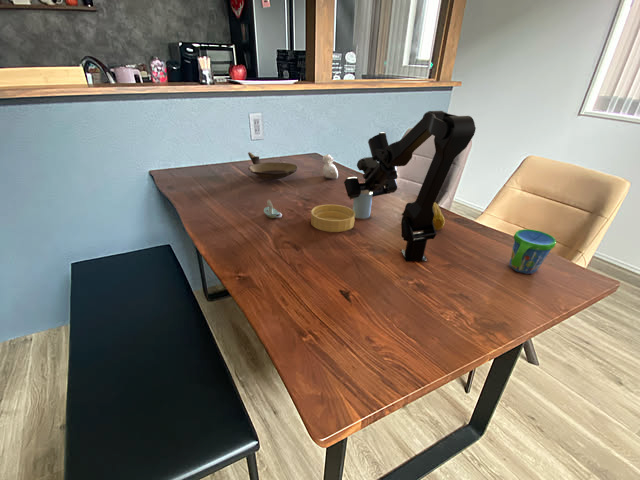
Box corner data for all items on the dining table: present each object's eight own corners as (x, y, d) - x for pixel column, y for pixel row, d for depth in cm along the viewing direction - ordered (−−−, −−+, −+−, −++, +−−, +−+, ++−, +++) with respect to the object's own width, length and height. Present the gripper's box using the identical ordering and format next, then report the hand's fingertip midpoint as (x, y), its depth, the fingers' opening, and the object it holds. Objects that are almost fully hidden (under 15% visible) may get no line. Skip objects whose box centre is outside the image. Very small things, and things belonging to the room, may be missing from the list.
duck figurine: (324, 178, 179) (312, 159, 171) (336, 167, 178) (324, 148, 170) (333, 185, 170) (320, 166, 163) (346, 174, 169) (333, 155, 161)
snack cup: (524, 284, 101) (539, 250, 94) (491, 268, 107) (502, 235, 101) (553, 269, 108) (568, 237, 102) (520, 255, 115) (533, 224, 109)
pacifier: (277, 212, 137) (262, 213, 134) (277, 195, 133) (262, 196, 131) (284, 219, 131) (269, 220, 129) (285, 202, 128) (268, 203, 125)
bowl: (356, 233, 123) (357, 221, 120) (311, 233, 122) (312, 220, 119) (351, 216, 135) (352, 204, 132) (310, 216, 134) (310, 204, 131)
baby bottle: (367, 221, 132) (371, 186, 125) (349, 218, 134) (352, 183, 126) (371, 215, 137) (376, 181, 130) (355, 212, 139) (358, 178, 131)
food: (443, 233, 126) (448, 217, 122) (427, 232, 126) (431, 215, 123) (435, 211, 143) (438, 196, 139) (420, 210, 143) (423, 195, 139)
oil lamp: (258, 187, 158) (256, 169, 153) (241, 169, 179) (239, 152, 174) (305, 183, 165) (306, 165, 161) (283, 165, 187) (283, 149, 182)
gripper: (398, 149, 121) (377, 174, 136) (348, 152, 115) (332, 178, 130) (407, 180, 121) (385, 202, 135) (358, 185, 114) (340, 207, 129)
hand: (361, 196), depth 132 cm, fingers open, 9 cm apart
